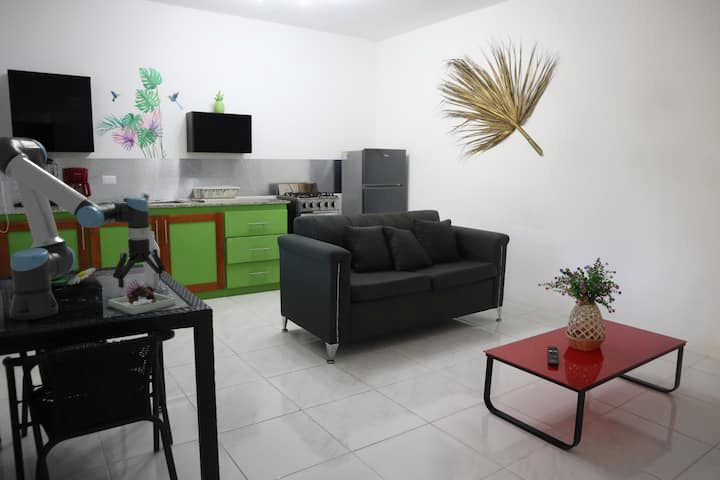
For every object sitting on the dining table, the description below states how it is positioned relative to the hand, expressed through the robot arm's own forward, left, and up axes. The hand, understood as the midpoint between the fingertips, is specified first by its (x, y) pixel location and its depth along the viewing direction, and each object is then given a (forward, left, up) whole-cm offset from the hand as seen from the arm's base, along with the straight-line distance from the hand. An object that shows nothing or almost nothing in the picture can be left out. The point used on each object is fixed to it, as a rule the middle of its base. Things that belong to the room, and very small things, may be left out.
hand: (140, 292), depth 202 cm
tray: (0, 0, -5) cm, 5 cm away
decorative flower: (-5, +57, -6) cm, 58 cm away
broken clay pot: (+1, -1, -5) cm, 5 cm away
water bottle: (+19, +24, -5) cm, 31 cm away
